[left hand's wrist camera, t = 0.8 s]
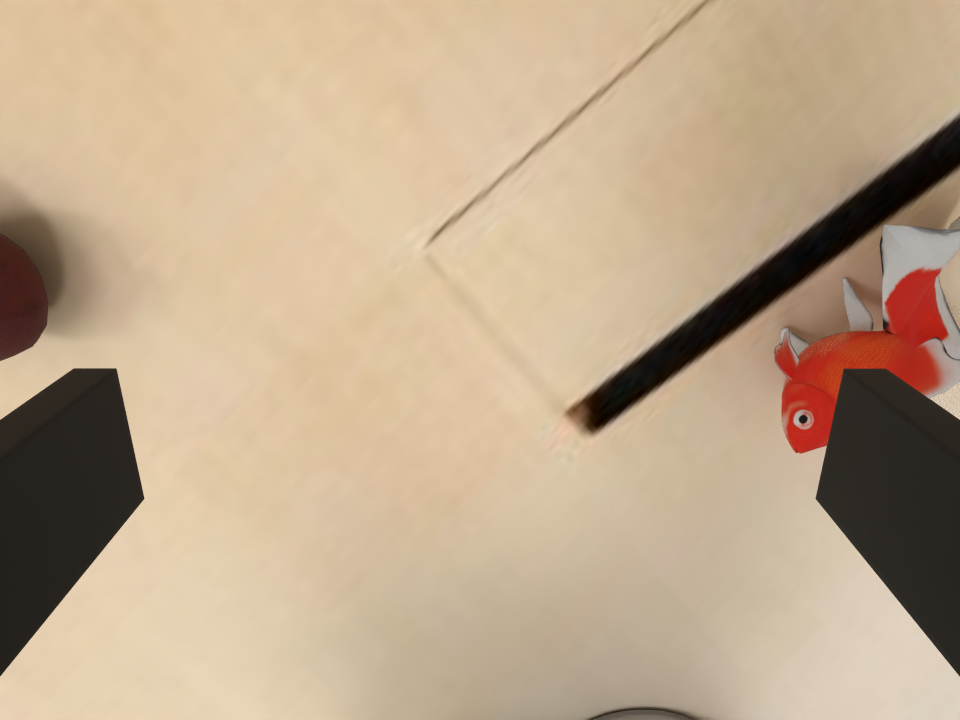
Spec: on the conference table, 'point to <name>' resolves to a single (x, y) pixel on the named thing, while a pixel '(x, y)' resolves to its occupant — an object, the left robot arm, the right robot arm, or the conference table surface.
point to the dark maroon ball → (19, 300)
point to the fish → (877, 336)
